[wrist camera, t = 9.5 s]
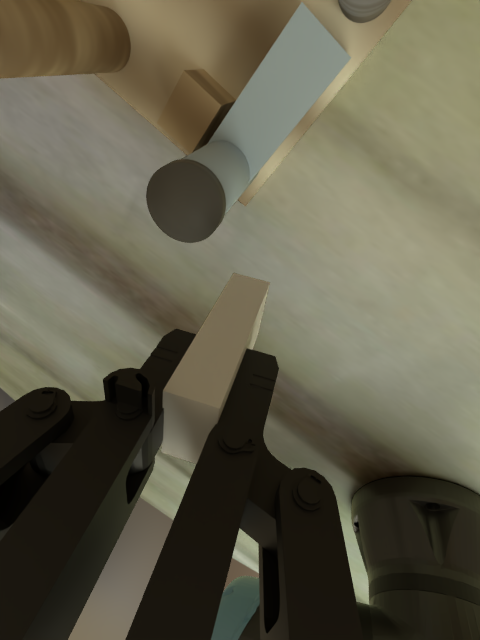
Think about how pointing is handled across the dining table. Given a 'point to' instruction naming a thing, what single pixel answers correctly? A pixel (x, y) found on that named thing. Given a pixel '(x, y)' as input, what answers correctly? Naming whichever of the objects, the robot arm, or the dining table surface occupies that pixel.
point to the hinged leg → (247, 131)
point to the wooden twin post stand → (181, 54)
